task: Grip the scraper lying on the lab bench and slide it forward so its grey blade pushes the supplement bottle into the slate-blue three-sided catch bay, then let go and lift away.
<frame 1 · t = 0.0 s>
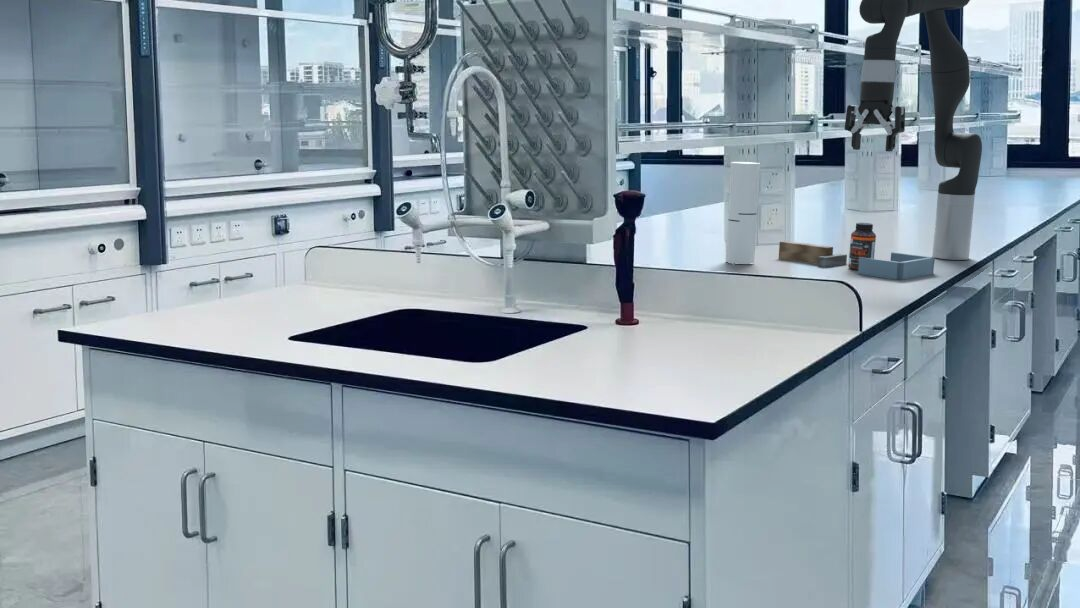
hand: (872, 150, 264), 29 cm above the countertop, tool pointing down, fingers open, 8 cm apart
catch bay: (894, 273, 270), on the countertop
scraper: (804, 261, 288), on the countertop
cylindrical container: (739, 263, 282), on the countertop
supplement bottle: (860, 269, 276), on the countertop
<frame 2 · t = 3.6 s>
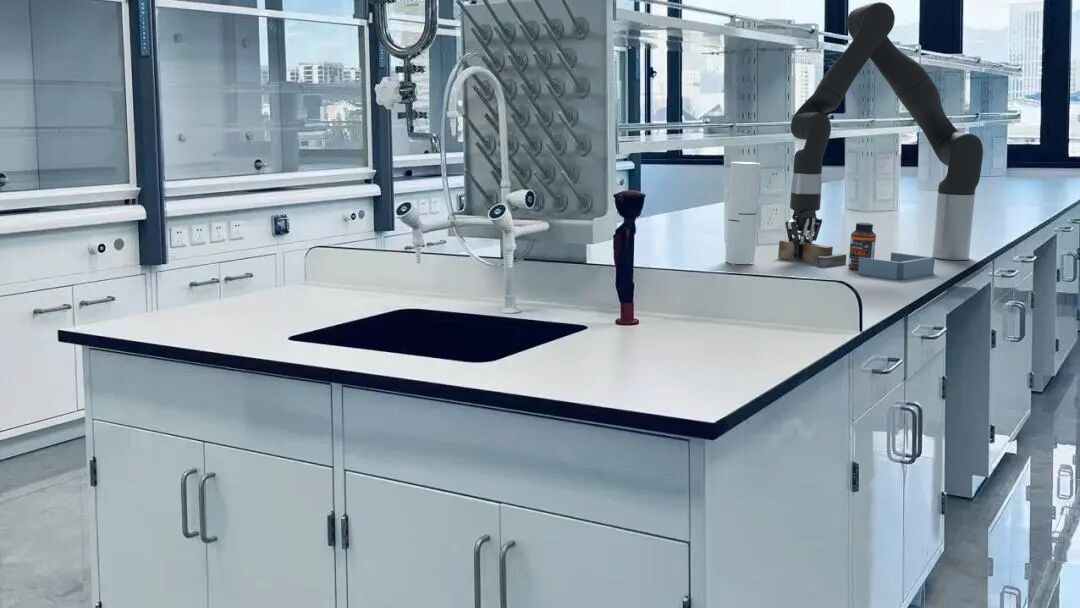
hand: (801, 258, 288), 1 cm above the countertop, tool pointing down, fingers closed on scraper, 3 cm apart
scraper: (804, 261, 288), on the countertop, touching gripper
everything else where it was.
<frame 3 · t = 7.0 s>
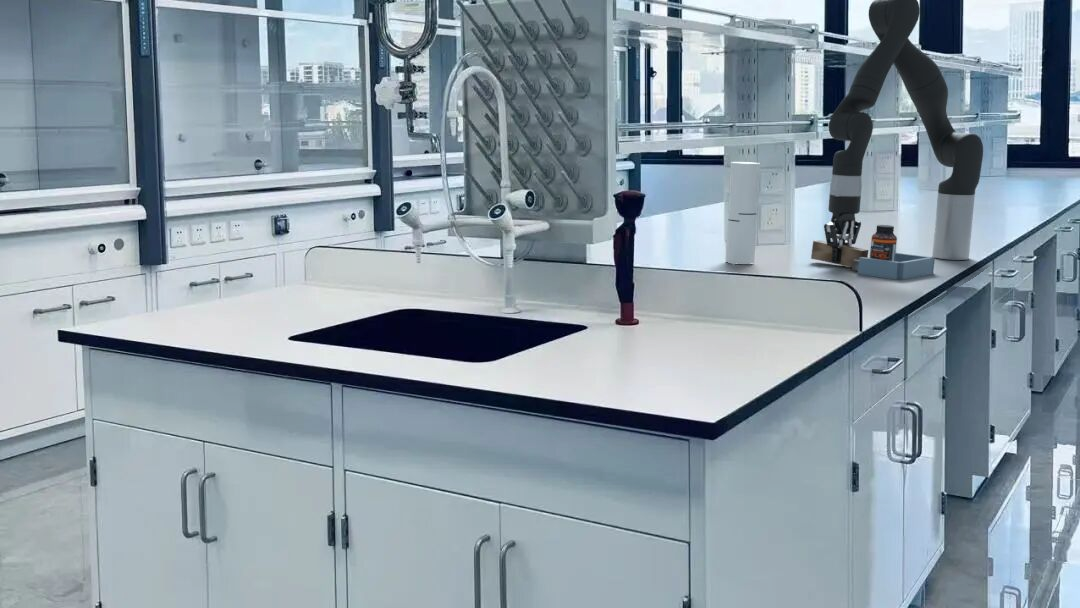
hand: (839, 262, 280), 1 cm above the countertop, tool pointing down, fingers closed on scraper, 3 cm apart
scraper: (838, 263, 281), point 1 cm above the countertop, touching supplement bottle, gripper
supplement bottle: (881, 272, 272), on the countertop, touching scraper
everything else where it was.
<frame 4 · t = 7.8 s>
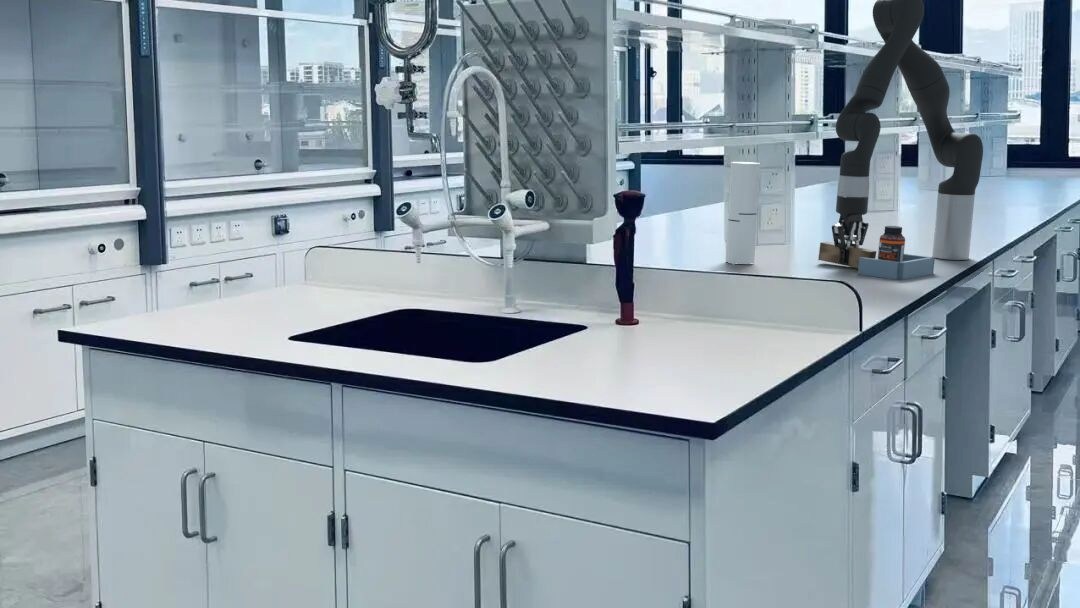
hand: (847, 263, 279), 1 cm above the countertop, tool pointing down, fingers closed on scraper, 3 cm apart
scraper: (845, 264, 279), point 1 cm above the countertop, touching supplement bottle, gripper
supplement bottle: (889, 273, 271), on the countertop, touching scraper
everything else where it was.
when the fingers open (1 cm above the countertop, at t = 8.7 s): scraper stays where it is, on the countertop.
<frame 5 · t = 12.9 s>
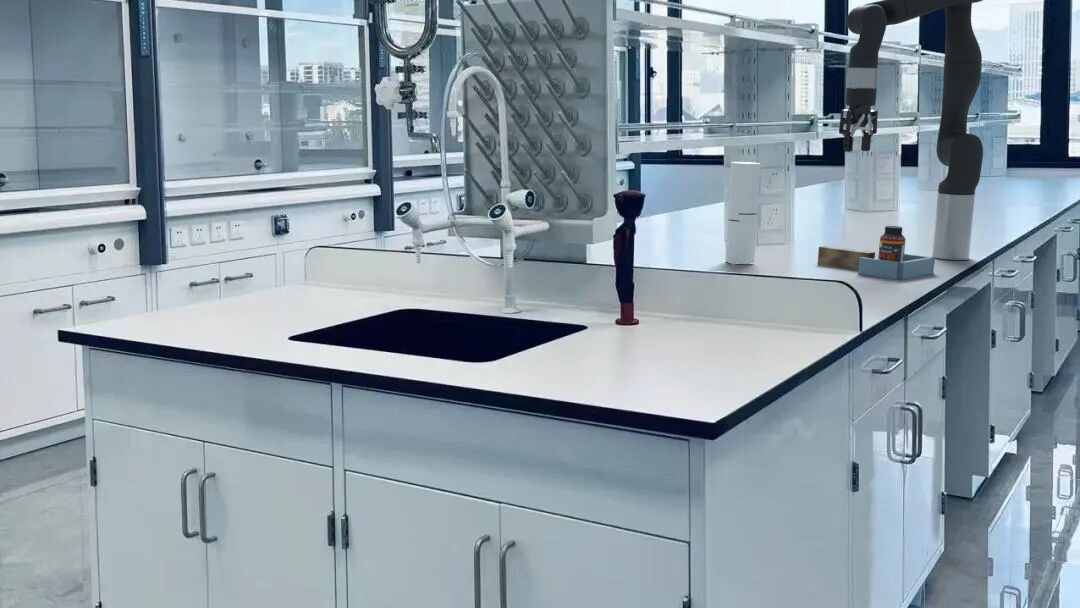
hand: (856, 151, 286), 28 cm above the countertop, tool pointing down, fingers open, 8 cm apart
scraper: (845, 267, 279), on the countertop
supplement bottle: (889, 274, 271), on the countertop
everything else where it was.
at the end: supplement bottle inside the target area on the catch bay (1.8 cm from its centre), point 0.0 cm above the catch bay's base; supplement bottle tilted 0°; the gripper is holding nothing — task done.
